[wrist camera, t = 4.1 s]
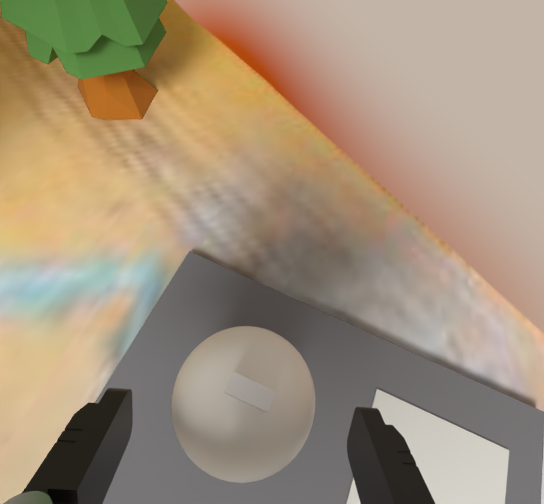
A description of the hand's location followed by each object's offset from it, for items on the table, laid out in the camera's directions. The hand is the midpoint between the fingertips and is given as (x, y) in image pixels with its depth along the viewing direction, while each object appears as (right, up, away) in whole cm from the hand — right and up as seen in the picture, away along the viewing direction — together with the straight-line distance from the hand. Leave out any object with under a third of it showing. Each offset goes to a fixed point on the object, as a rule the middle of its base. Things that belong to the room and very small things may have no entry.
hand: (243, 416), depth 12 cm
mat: (+4, -5, +7) cm, 9 cm away
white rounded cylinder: (-1, -3, +7) cm, 7 cm away
